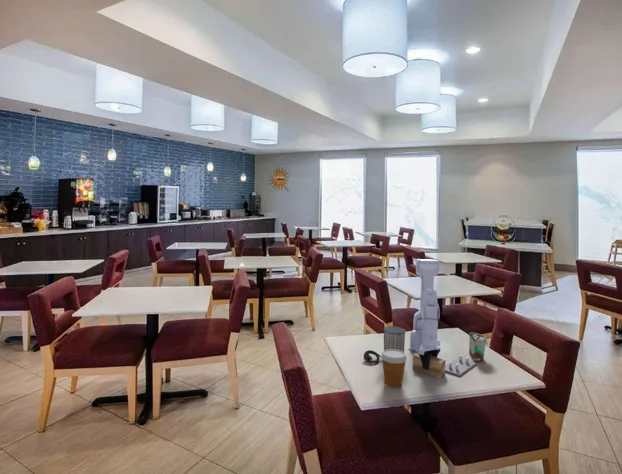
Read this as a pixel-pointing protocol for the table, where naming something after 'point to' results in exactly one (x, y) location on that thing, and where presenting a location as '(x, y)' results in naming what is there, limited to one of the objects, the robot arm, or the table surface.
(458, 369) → the peg plate
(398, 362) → the disposable coffee cup
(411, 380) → the table surface
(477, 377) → the table surface
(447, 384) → the table surface
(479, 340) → the food container
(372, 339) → the table surface
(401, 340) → the milk frother
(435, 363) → the shelf block
